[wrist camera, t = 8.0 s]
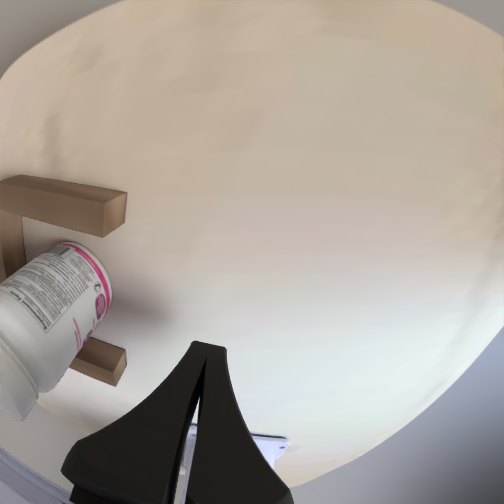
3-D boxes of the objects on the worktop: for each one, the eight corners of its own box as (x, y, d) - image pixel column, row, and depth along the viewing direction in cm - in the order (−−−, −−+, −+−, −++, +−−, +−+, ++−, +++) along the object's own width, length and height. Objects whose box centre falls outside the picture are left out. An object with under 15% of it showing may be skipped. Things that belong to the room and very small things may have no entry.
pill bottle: (101, 330, 14) (33, 439, 6) (43, 284, 13) (-41, 369, 5) (127, 274, 12) (28, 406, 5) (59, 222, 11) (-63, 304, 4)
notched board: (126, 364, 15) (115, 386, 13) (14, 314, 14) (0, 328, 12) (127, 192, 11) (104, 203, 9) (-5, 171, 10) (-27, 178, 8)
